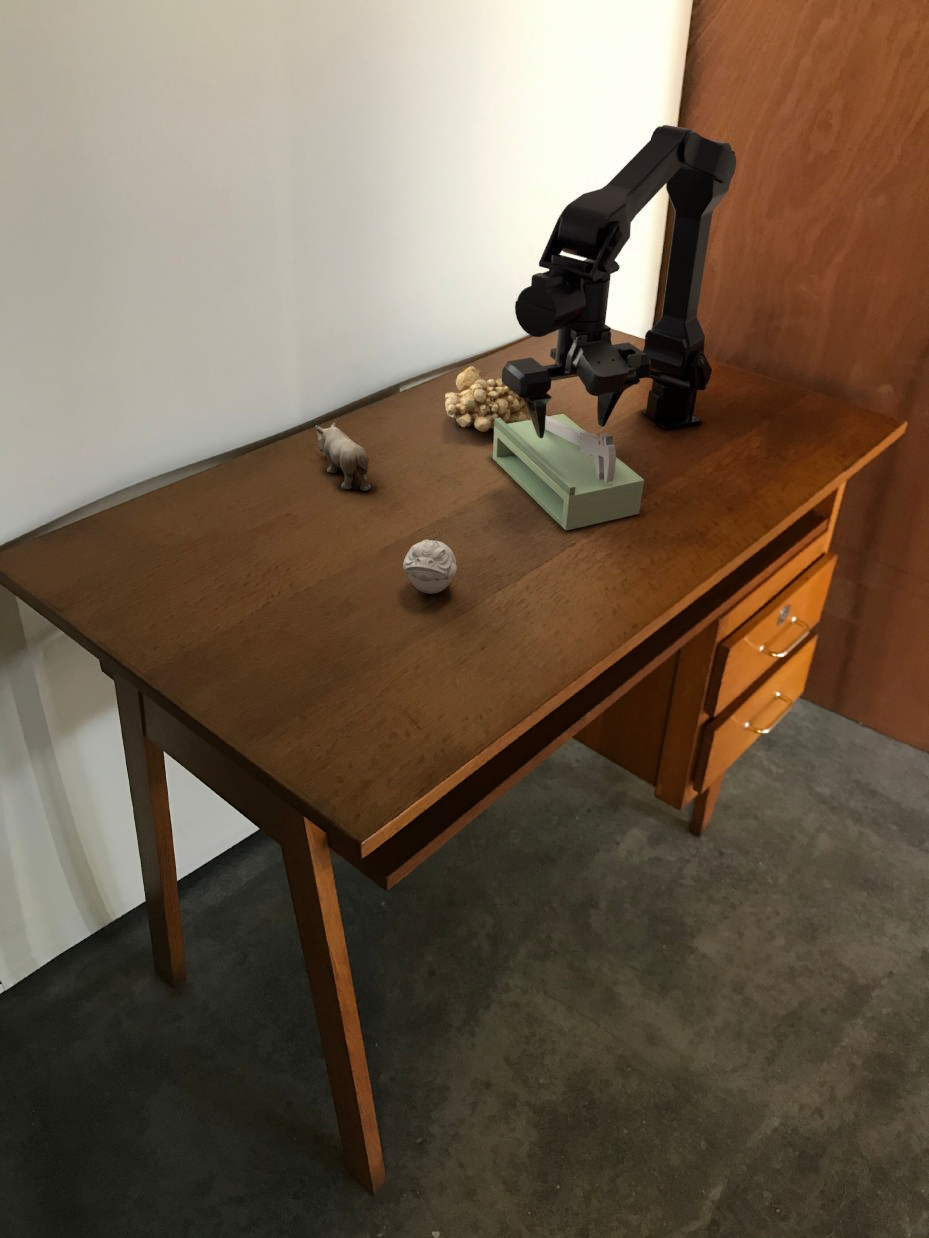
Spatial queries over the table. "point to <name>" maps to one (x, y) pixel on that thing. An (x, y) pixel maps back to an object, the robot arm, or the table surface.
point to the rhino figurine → (343, 455)
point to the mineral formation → (484, 402)
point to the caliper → (589, 446)
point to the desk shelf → (564, 475)
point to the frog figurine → (430, 566)
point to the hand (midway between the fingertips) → (570, 431)
